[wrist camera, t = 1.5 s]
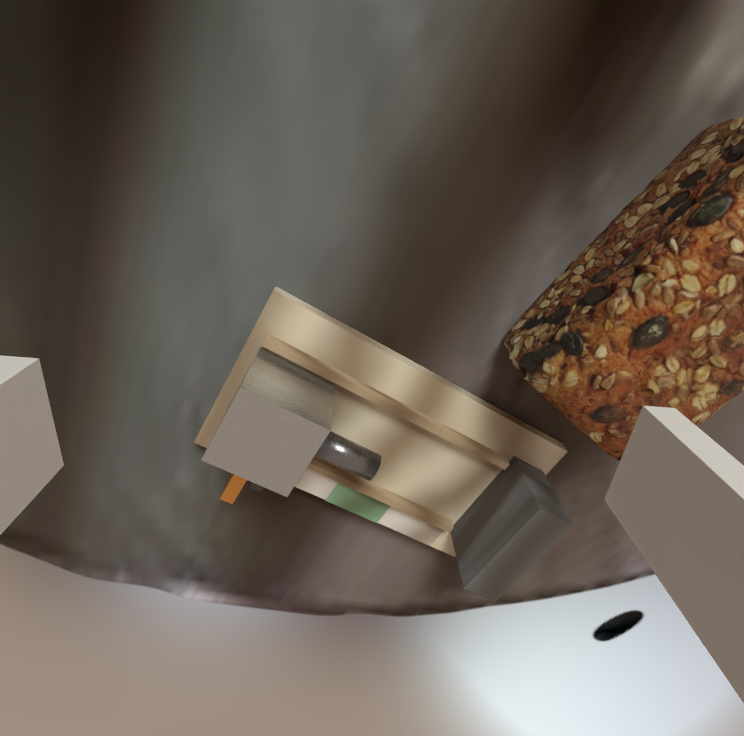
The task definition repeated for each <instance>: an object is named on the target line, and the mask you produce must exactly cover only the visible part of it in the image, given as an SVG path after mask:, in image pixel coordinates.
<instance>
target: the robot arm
mask: <svg viewBox="0 0 744 736" xmlns="http://www.w3.org/2000/svg"><path fill="white" fill-rule="evenodd" d="M63 466H64V464H63V460H62V455H61V451H60V447H59V442H58V438H57V434H56V430H55V425H54V421H53V417H52V412H51V408H50V404H49V399H48V395H47V391H46V386H45V382H44V378H43V373H42V369H41V365H40V361H39V359H38V358H25V357H13V356H0V535H1V534H2V533H3V532H4V530H5V529H6V528H7V527H8V526H9V525H10V524H11V523H12V522H13V521H14V520H15V518H16V517H17V516H18V515H19V514H20V513H21V512H22V511H23V510H24V509H25V507H26V506H27V505H28V504H29V503H30V502H31V501H32V500H33V499H34V498H35V496H36V495H37V494H38V493H39V492H40V491H41V490H42V489H43V488H44V487H45V485H46V484H47V483H48V482H49V481H50V480H51V479H52V478H53V477H54V476H55V475H56V473H57V472H58V471H59V470H60V469H61V468H62V467H63ZM604 500H605V501H606V503H607V504H608V506H609V507H610V509H611V510H612V512H613V513H614V514H615V516H616V517H617V519H618V520H619V522H620V523H621V525H622V526H623V528H624V529H625V531H626V532H627V533H628V535H629V536H630V538H631V539H632V541H633V542H634V544H635V545H636V547H637V548H638V549H639V551H640V552H641V554H642V555H643V557H644V558H645V560H646V561H647V563H648V564H649V566H650V567H651V568H652V570H653V571H654V573H655V574H656V576H657V577H658V579H659V580H660V582H661V583H662V584H663V586H664V587H665V589H666V590H667V592H668V593H669V595H670V596H671V597H672V599H673V601H674V602H675V603H676V605H677V606H678V608H679V609H680V611H681V612H682V614H683V615H684V617H685V618H686V620H687V621H688V622H689V624H690V625H691V627H692V628H693V630H694V631H695V633H696V634H697V636H698V637H699V638H700V640H701V641H702V643H703V644H704V646H705V647H706V649H707V650H708V652H709V653H710V655H711V656H712V657H713V659H714V660H715V662H716V663H717V665H718V666H719V668H720V669H721V671H722V672H723V673H724V675H725V676H726V678H727V679H728V681H729V682H730V684H731V685H732V687H733V688H734V690H735V691H736V692H737V694H738V695H739V697H740V698H741V700H742V701H743V703H744V466H743V465H742V464H741V463H740V462H738V461H737V460H736V459H735V458H734V457H733V456H731V455H730V454H729V453H728V452H727V451H725V450H724V449H723V448H722V447H721V446H719V445H718V444H717V443H716V442H715V441H714V440H712V439H711V438H710V437H709V436H708V435H706V434H705V433H704V432H703V431H702V430H701V429H699V428H698V427H697V426H696V425H695V424H693V423H692V422H691V421H690V420H689V419H687V418H686V417H685V416H684V415H683V414H682V413H680V412H679V411H678V410H677V409H676V408H667V407H655V406H643V407H642V409H641V412H640V414H639V417H638V419H637V421H636V424H635V426H634V429H633V431H632V434H631V436H630V438H629V441H628V443H627V446H626V448H625V451H624V453H623V455H622V458H621V460H620V463H619V465H618V468H617V470H616V472H615V475H614V477H613V480H612V482H611V485H610V487H609V489H608V492H607V494H606V497H605V499H604Z"/></svg>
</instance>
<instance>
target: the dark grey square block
mask: <svg viewBox="0 0 744 736" xmlns="http://www.w3.org/2000/svg"><path fill="white" fill-rule="evenodd" d="M248 488H251V489H253V490H255V491H258V492H260V493H261V491H262V490H263V488H264V487H262V486H260V485H258V484H255V483H253V482H251V481H250V483H249V486H248Z"/></svg>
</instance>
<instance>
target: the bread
mask: <svg viewBox="0 0 744 736" xmlns="http://www.w3.org/2000/svg"><path fill="white" fill-rule="evenodd" d="M503 341H504V345H505V346H506V349H507V350H508V351H509V354H510V356H509V358H510V359H511V361H512V362H513V365H514V366H515V367H516V368H517V369H518V370H519V371H520V372H521V373H522V374H524V376H525V379H526V381H527V382H528V383H529V384H530V385H531V386H533V387H534V388H535V389H536V390H537V391H538V392H539V393H540V394H541V395H542V396H543V397H544V398H545V399H546V400H547V401H549V402H550V403H552V405H553V406H554V407H555V408H557V409H558V410H559V411H560V412H561V413H562V414H563V415H564V416H565V417H566V418H567V419H569V420H570V421H571V422H572V423H573V424H574V425H575V426H576V427H577V428H578V429H579V430H580V431H582V432H583V433H584V434H585V435H587V436H588V437H589V438H590V439H591V440H592V441H593V442H594V443H596V444H597V445H598V446H599V447H600V448H601V449H602V450H603V451H605V452H606V453H607V454H608V455H611V456H613V457H614V458H616V459H618V460H621V458H622V455H623V453H624V451H625V448H626V446H627V443H628V441H629V438H630V436H631V434H632V431H633V429H634V426H635V424H636V421H637V419H638V417H639V414H640V412H641V409H642V407H643V406H655V407H667V408H676V409H677V410H678V411H679V412H680V413H682V414H683V415H684V416H685V417H686V418H687V419H689V420H690V421H691V422H692V423H693V424H695V425H696V426H698V425H700V424H702V423H703V422H704V421H705V420H706V419H707V418H709V417H711V416H713V415H714V414H715V413H716V412H717V411H718V409H719V408H720V407H721V406H724V405H725V404H726V403H727V402H728V401H729V400H731V399H732V398H734V397H735V396H737V395H738V394H739V393H741V392H742V391H743V390H744V117H739V118H736V119H730V120H728V121H725V122H723V123H720V124H716V125H711V126H710V127H709V128H707V129H706V130H704V131H703V132H701V133H700V134H699V135H698V136H696V137H695V138H694V139H693V140H692V141H691V142H690V143H689V144H688V145H687V146H686V147H685V148H684V149H683V151H682V152H681V153H680V154H679V155H678V156H677V157H676V158H675V159H674V160H673V161H672V162H671V163H670V164H669V165H668V166H667V167H666V168H665V169H664V170H663V171H662V172H661V173H660V174H659V175H658V176H656V177H655V178H654V179H653V180H652V181H651V182H650V183H649V184H648V186H647V188H646V190H645V191H644V192H643V193H641V194H639V195H638V196H637V197H636V198H635V199H634V200H633V201H631V202H630V203H629V204H628V205H627V206H626V207H625V208H624V209H623V210H622V212H621V213H620V214H619V216H618V217H617V218H616V219H614V220H613V221H612V222H611V224H610V226H609V227H608V228H607V229H605V230H604V231H603V232H602V233H601V234H599V235H598V237H597V239H596V240H595V241H593V242H592V243H591V244H589V245H588V247H587V248H586V249H585V251H584V252H583V253H582V254H581V255H580V256H578V257H577V258H576V259H574V261H573V262H572V263H571V265H570V269H569V270H568V271H567V272H566V273H564V274H561V275H559V276H558V277H557V278H556V279H555V281H554V282H553V283H552V284H551V285H550V286H549V287H548V288H547V289H546V290H545V291H544V292H543V293H542V294H541V295H540V296H539V297H538V298H537V300H536V301H535V302H534V303H533V304H532V306H531V307H530V308H529V309H528V310H527V311H526V312H525V313H524V314H523V316H522V317H521V318H520V320H519V321H518V323H517V324H516V325H515V326H514V327H513V328H512V329H511V330H510V331H509V332H508V333H507V334H506V336H505V339H504V340H503Z"/></svg>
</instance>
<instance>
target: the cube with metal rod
mask: <svg viewBox="0 0 744 736" xmlns="http://www.w3.org/2000/svg"><path fill="white" fill-rule="evenodd" d="M335 386H336V385H334V384H332V383H330V382H328V381H326V380H324V379H322V378H320V377H318V376H316V375H314V374H312V373H310V372H309V371H307V370H305V369H303V368H301V367H299V366H297V365H295V364H293V363H291V362H289V361H287V360H285V359H283V358H281V357H279V356H277V355H275V354H273V353H271V352H269V351H267V350H265V349H263V348H261V347H260V348H259V350H258V352H257V354H256V356H255V358H254V360H253V361H252V363H251V365H250V367H249V369H248V371H247V373H246V375H245V376H244V378H243V380H242V382H241V384H240V386H239V388H238V389H237V391H236V393H235V395H234V397H233V399H232V401H231V402H230V404H229V406H228V408H227V410H226V412H225V414H224V416H223V418H222V420H221V422H220V424H219V426H218V428H217V430H216V432H215V434H214V436H213V438H212V440H211V442H210V443H209V445H208V447H207V449H206V451H205V453H204V455H203V457H202V459H201V460H202V461H204V462H207V463H209V464H211V465H214V466H216V467H218V468H221V469H223V470H225V471H227V472H230V473H231V474H230V476H229V478H228V480H227V481H226V484H225V487H224V489H223V492H222V494H221V497H220V499H221V500H223V501H226V502H228V503H231V504H233V502H234V501H235V499H236V497H237V496H238V494H239V492H240V491H241V489H242V487H243V486H244V484H245V482H246V481H247V480H248V481H251V482H253V483H255V484H258V485H260V486H262V487H265V488H267V489H269V490H272V491H274V492H276V493H279V494H281V495H283V496H286V497H288V495H289V494H290V492H291V490H292V489H293V487H294V486H295V484H296V483H297V481H298V480H299V478H300V477H301V475H302V474H303V472H304V471H305V469H306V468H307V466H308V465H309V463H310V462H311V460H312V459H313V457H314V456H317V457H319V458H321V459H323V460H325V461H327V462H330V463H332V464H334V465H336V466H338V467H340V468H343V469H345V470H347V471H349V472H351V473H353V474H356V475H358V476H360V477H362V478H364V479H366V480H369V481H370V480H372V479H373V478H374V476H375V475H376V473H377V472H378V469H379V467H380V464H381V455H380V454H378V453H376V452H373V451H371V450H369V449H367V448H365V447H363V446H361V445H359V444H357V443H355V442H353V441H351V440H349V439H346V438H344V437H342V436H340V435H338V434H336V433H334V432H332V431H331V425H332V415H333V405H334V395H335Z"/></svg>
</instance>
